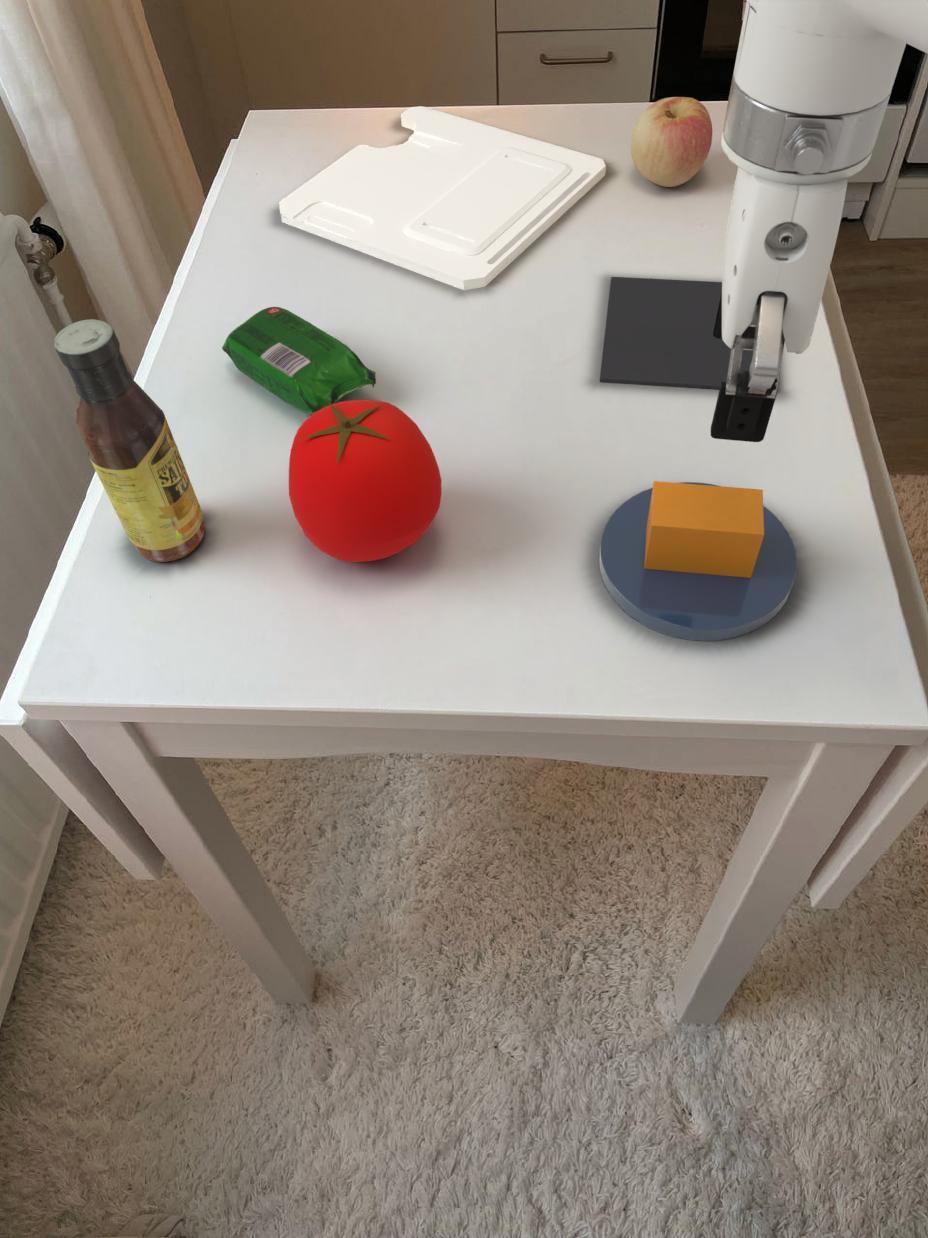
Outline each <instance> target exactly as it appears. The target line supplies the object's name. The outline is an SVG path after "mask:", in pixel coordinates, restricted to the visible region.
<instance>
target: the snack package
mask: <svg viewBox="0 0 928 1238" xmlns="http://www.w3.org/2000/svg"><path fill="white" fill-rule="evenodd" d="M221 350H222V351H223V352H224V353H226V354H227V355H228V357H229V359H230V360H231V361H232V362H233V363H234V365H235V367H236V368H237V370H238V371H239V372H241V373H242V374H244V375H245V376H246V377H248V378H250V379H251V380H253V381H254V382H256V383H258V384H260V385H261V386H263V388H265V389H266V390H267V391H269V392H270V393H271V394H273V395H274V396H276V397H278V398H279V399H281V400H282V401H283V402H285V403H287V404H288V405H290V406H292V407H294V408H295V409H297V410H299V411H301V412H303V413H305V414H307V415H313V414H314V413H315V412H317V411H319V410H321V409H322V408H324V407H327V406H329V405H330V404H329V402H330V403H331V404H335V403H338V402H339V401H340V400H341V399H342V398H343V397H345V396H346V395H348V394H349V393H352V392H354V391H356V390H358V389H360V388H363V387H365V386H366V385H371V386H372V388H374V387H375V385H376V384H377V378H376V371H374V370H371V369H370V368H368V367H367V366H365V364H364V363H363V362H362V360H361V359H360V357H359V356H358V355H357V354H356V353H355V352H354V351H353V350H352V349H351V348H350V347H349V346H347V344H345V343H343V342H342V341H340V340H339V339H337V338H336V337H334V336H332V335H331V334H329V333H328V332H326V331H324V330H323V329H320V328H319V327H317V326H316V325H314V324H312V323H311V322H309V321H308V320H306V319H304V318H302V317H301V316H299V315H297V314H295V313H294V312H292V311H290V310H288V309H286V308H283V307H280V306H269V307H266V308H264V309H261V310H260V311H258V312H255V314H253V315H252V316H250V317H249V318H248V319H247V320H245V321H244V322H243V323H242V324H240V325H238V326H237V327H236V328H234V330H232V331H231V332H230V333H229V334H228V335H227V337H226V339H225V342H224V343H223V345H222V347H221Z"/></svg>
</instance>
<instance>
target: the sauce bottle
mask: <svg viewBox="0 0 928 1238" xmlns="http://www.w3.org/2000/svg"><path fill="white" fill-rule="evenodd" d="M53 343H54V349H55V352H56V353H57V356H58V358H59V360H60V361H61V363H62V364H63V366H64V367H65V368H67V371H68V373H69V375H70V377H71V379H72V382H73V383H74V386H75V387H74V388H75V391H76V393H77V394H78V396H79V403H78V407H77V408H76V417H75V418H76V419H75V420H76V421H75V423H76V426H77V429H78V430H77V431H78V434H79V436H80V437H81V440H82V442H83V444H84V445H85V447H86V449H87V454H88V457H89V461H90V462H91V464H92V466H93V469H94V470H95V473H96V474H97V476H98V479H99V481H100V482H101V484H102V487H103V489H104V491H105V493H106V495H107V498H108V499H109V502H110V504H111V505H112V507H113V509H114V511H115V514H116V515H117V518H118V520H119V522H120V524H121V526H122V528H123V530H124V532H125V534H126V536H127V538H128V539H129V541H130V542H131V543H132V545H133V546H134V548H135V549H136V551H137V553H139V554H140V555H141V556H143V558H145V559H147V560H149V561H152V562H156V563H167V562H171V561H177V560H180V559H183V558H186V557H187V556H188V555H190V554H191V553H192V552H193V551H195V550H196V548H198V547H199V545H200V544H201V542H202V540H203V538H204V536H205V530H206V526H205V521H204V518H203V510H202V508H201V505H200V503H199V499H198V498H197V495H196V493H195V490H194V486H193V485H192V481H191V479H190V477H189V475H188V474H189V473H188V472H187V471H188V470H187V468H186V466H185V464H184V461H183V459H182V455H181V453H180V451H179V448H178V445H177V444H176V441H175V438H174V436H173V433H172V431H171V427H170V425H169V422H168V420H167V418H166V415H165V413H164V411H163V410H162V409H161V408H160V407H159V405H158V404H157V403H156V402H155V401H154V400H153V399H152V398H151V397H150V395H148V394H147V393H146V392H145V390H144V389H143V388H142V387H141V386H140V385H139V384H138V383H137V382H136V381H135V379H133V376H132V373H131V372H130V371H129V370H128V368H127V365H126V363H125V360H124V358H123V355H122V353H121V351H120V346H121V344H120V341H119V339H118V337H117V334H116V333H115V330H114V328H113V327H112V326H111V324H109V323H108V322H106V321H103V320H101V319H94V318H92V319H91V318H90V319H84V320H79V321H75V322H73V323H71V324H69V325H67V326H66V327H64V328H62V329H61V330H59V332H58V333H57V334H56V336H55V337H54V341H53Z"/></svg>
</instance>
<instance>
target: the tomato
mask: <svg viewBox="0 0 928 1238" xmlns="http://www.w3.org/2000/svg"><path fill="white" fill-rule="evenodd" d="M329 404H330V405H329V406H327V407H324V408H322V409H321V410H319V411H317V412H315V413H314V414H313V415H312V414H310V416H309V417H308V418H306V419H305V420H304V421H303V422H302V423H301V425H300V426H299V428H298V429H297V430H296V433H295V435H294V438H293V441H292V445H291V448H290V454H289V459H288V460H289V461H288V497H289V500H290V504H291V508H292V511H293V515H294V518H295V519H296V521H297V523H298V525H299V527H300V528H301V531H302V532H303V534H304V536H305V537H306V538H307V539H308V540H309V541H310V542H311V543H312V544H313V546H315V547H316V548H317V549H318V550H319V551H321V552H322V553H324V554H326V555H328V556H330V557H332V558H334V559H335V560H340V561H342V562H349V563H364V562H365V563H366V562H372V561H379V560H383V559H386V558H389V557H392V556H394V555H396V554H398V553H401V552H402V551H404V550H405V549H407V548H408V547H410V546H412V545H414V544H415V543H416V542H417V541H418V540H419V539H420V538H421V537H422V536H423V535H425V533H426V532H427V531H428V530H429V528H431V525H432V524H433V522H434V520H435V518H436V516H437V514H438V512H439V509H440V507H441V501H442V476H441V472H440V471H441V470H440V467H439V464H438V462H437V459H436V456H435V453H434V452H433V448H432V447H431V444H430V443H429V441H428V439H427V438H426V437H425V435H424V433H423V432H422V430H421V429H420V428H419V426H418V424H417V423H416V422H415V421H414V420H413V419H412V417H409V416H408V414H406V413H405V412H404V411H403V410H402V409H400V408H399V407H398V406H396V405H394V404H392V403H390V402H387V401H382V400H375V399H353V400H343V401H338V402H337V403H335V404H331V403H330V402H329Z"/></svg>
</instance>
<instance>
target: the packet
mask: <svg viewBox="0 0 928 1238" xmlns="http://www.w3.org/2000/svg"><path fill="white" fill-rule="evenodd" d="M652 488H653V489H652V496H651V502H650V509H649V515H648V521H647V531H646V548H645V565H644V568H645V569H655V570H666V571H677V572H688V573H700V574H711V575H722V576H734V577H745V578H751V576H752V573H753V569H754V566H755V563H756V560H757V556H758V553H759V550H760V547H761V543H762V540H763V537H764V515H763V506H764V492H763V489H759V488H749V487H748V488H747V487H732V486H723V485H718V486H709V485H696V484H683V483H681V482H668V481H667V482H666V481H657V480H656V481H655V480H654V481H653V484H652Z"/></svg>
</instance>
